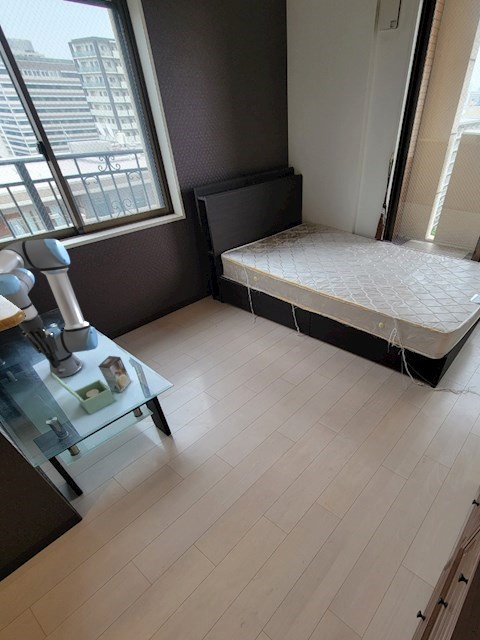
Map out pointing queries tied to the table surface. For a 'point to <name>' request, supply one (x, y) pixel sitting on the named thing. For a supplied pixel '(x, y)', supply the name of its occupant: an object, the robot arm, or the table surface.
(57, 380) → the lid
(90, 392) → the coffee pod
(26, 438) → the table surface
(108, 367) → the coffee box
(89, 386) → the pale green cubby
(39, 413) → the table surface
